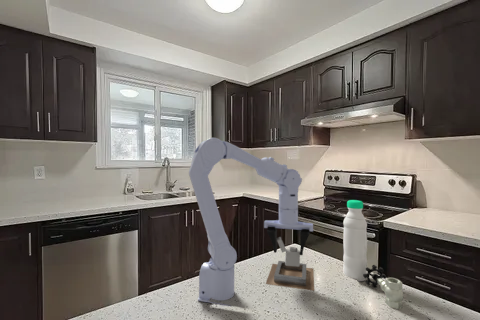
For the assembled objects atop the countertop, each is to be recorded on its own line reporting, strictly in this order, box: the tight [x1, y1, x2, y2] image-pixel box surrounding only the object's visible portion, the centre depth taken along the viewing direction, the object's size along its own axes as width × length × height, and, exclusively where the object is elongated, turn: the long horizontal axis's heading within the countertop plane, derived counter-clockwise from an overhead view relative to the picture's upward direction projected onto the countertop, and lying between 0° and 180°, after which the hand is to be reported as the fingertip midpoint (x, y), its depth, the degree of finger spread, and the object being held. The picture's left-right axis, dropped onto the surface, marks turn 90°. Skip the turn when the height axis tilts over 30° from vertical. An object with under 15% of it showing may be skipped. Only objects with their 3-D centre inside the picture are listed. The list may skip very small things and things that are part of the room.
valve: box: [363, 264, 404, 310], centre depth 70 cm, size 7×7×12 cm
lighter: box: [277, 236, 301, 267], centre depth 75 cm, size 7×2×8 cm, turn 84°
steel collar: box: [274, 260, 307, 286], centre depth 80 cm, size 9×11×2 cm
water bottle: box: [342, 199, 368, 282], centre depth 81 cm, size 7×7×25 cm
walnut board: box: [265, 263, 315, 291], centre depth 80 cm, size 14×15×1 cm
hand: (288, 252), depth 75 cm, fingers closed on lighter, 7 cm apart
